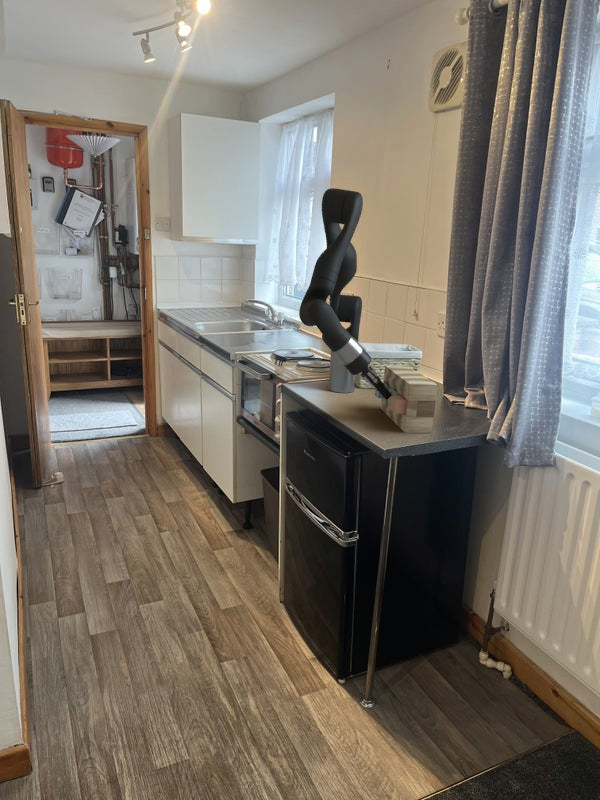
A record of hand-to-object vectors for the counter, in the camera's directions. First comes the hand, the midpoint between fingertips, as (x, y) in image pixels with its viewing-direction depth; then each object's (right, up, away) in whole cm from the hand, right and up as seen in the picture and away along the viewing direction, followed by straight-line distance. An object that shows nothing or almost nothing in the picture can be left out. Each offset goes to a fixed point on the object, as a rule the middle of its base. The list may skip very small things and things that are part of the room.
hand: (388, 396), depth 174 cm
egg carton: (+17, 0, +31) cm, 35 cm away
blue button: (-1, 0, +8) cm, 8 cm away
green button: (+2, -2, +1) cm, 3 cm away
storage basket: (+5, +4, +46) cm, 46 cm away
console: (+5, -7, +3) cm, 9 cm away
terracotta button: (+1, -4, -7) cm, 8 cm away
